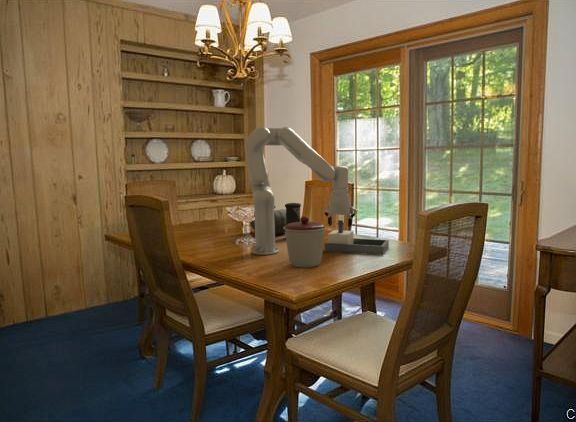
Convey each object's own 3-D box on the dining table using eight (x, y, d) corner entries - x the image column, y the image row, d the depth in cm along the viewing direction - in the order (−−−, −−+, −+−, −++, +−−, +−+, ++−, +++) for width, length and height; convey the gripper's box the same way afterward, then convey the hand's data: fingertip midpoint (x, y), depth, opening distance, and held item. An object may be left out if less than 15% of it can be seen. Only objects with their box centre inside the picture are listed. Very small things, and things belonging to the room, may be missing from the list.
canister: (275, 265, 190) (274, 216, 187) (304, 258, 203) (303, 212, 200) (306, 273, 177) (305, 220, 175) (335, 264, 190) (335, 215, 187)
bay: (383, 255, 205) (383, 246, 205) (324, 251, 216) (324, 243, 215) (388, 248, 220) (388, 240, 220) (333, 244, 230) (333, 237, 230)
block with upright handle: (347, 249, 214) (347, 222, 212) (327, 247, 218) (327, 221, 216) (353, 244, 224) (353, 219, 222) (334, 243, 228) (333, 218, 226)
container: (301, 239, 247) (300, 203, 245) (285, 239, 247) (284, 203, 245) (301, 236, 256) (300, 201, 253) (285, 236, 256) (285, 202, 253)
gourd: (289, 233, 251) (284, 203, 252) (247, 239, 257) (242, 210, 257) (297, 230, 276) (293, 202, 276) (259, 236, 281) (255, 209, 281)
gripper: (320, 191, 217) (320, 226, 219) (355, 192, 211) (355, 228, 213) (325, 190, 224) (325, 224, 226) (359, 191, 218) (358, 225, 220)
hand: (339, 226), depth 219 cm, fingers open, 9 cm apart
